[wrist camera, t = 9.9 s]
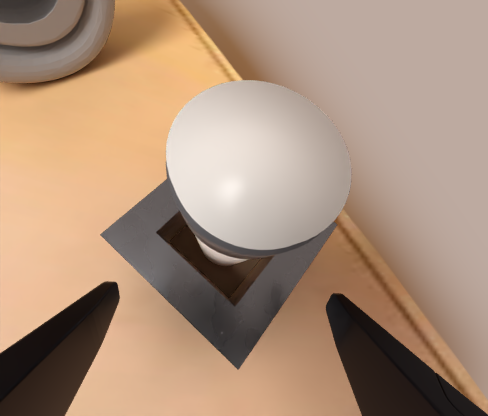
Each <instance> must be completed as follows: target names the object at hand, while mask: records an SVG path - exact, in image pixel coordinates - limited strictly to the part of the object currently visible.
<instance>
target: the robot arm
mask: <svg viewBox="0 0 488 416" xmlns="http://www.w3.org/2000/svg"><path fill="white" fill-rule="evenodd" d="M119 299H120V295H119V290H118V284H117V283H116V282H108V281H107V282H103V283H102V284H100V285H99V286H97V287H96V288H94V289H93V290H92V291H90V292H89V293H87V294H86V295H84V296H83V297H81V298H80V299H78V300H77V301H76V302H74V303H73V304H71V305H70V306H68V307H67V308H65V309H64V310H62V311H61V312H60V313H58V314H57V315H55V316H54V317H52V318H51V319H49V320H48V321H47V322H45V323H44V324H42V325H41V326H39V327H38V328H36V329H35V330H33V331H32V332H31V333H29V334H28V335H26V336H25V337H23V338H22V339H20V340H19V341H17V342H16V343H15V344H13V345H12V346H10V347H9V348H7V349H6V350H4V351H3V352H1V353H0V416H65V414H66V412H67V411H68V409H69V407H70V405H71V403H72V401H73V399H74V397H75V395H76V393H77V391H78V389H79V387H80V385H81V384H82V382H83V380H84V378H85V376H86V374H87V372H88V370H89V368H90V366H91V364H92V362H93V360H94V359H95V357H96V355H97V353H98V351H99V349H100V347H101V345H102V342H103V340H104V338H105V335H106V333H107V330H108V328H109V325H110V323H111V320H112V318H113V315H114V313H115V310H116V308H117V305H118V303H119ZM326 312H327V316H328V319H329V323H330V326H331V330H332V333H333V337H334V341H335V344H336V347H337V350H338V353H339V356H340V358H341V361H342V364H343V366H344V369H345V372H346V374H347V377H348V380H349V382H350V385H351V387H352V390H353V393H354V395H355V398H356V401H357V403H358V406H359V409H360V411H361V414H362V416H488V414H486V413H485V412H484V411H483V410H481V409H480V408H479V407H478V406H476V405H475V404H474V403H472V402H471V401H470V400H469V399H467V398H466V397H465V396H464V395H463V394H461V393H460V392H459V391H458V390H456V389H455V388H454V387H453V386H452V385H450V384H449V383H448V382H447V381H446V380H444V379H443V378H442V377H441V376H440V375H438V374H437V373H435V372H434V370H432V369H431V368H430V367H429V366H428V365H426V364H425V363H424V362H423V361H422V360H420V359H419V358H418V357H417V356H416V355H415V354H413V353H412V352H411V351H410V350H409V349H407V348H406V347H405V346H404V345H403V344H401V343H400V342H399V341H398V340H397V339H395V338H394V337H393V336H392V335H391V334H389V333H388V332H387V331H386V330H385V329H383V328H382V327H381V326H380V325H379V324H378V323H376V322H375V321H374V320H373V319H372V318H370V317H369V316H368V315H367V314H366V313H364V312H363V311H362V310H361V309H360V308H358V307H357V306H356V305H355V304H354V303H352V302H351V301H350V300H349V299H348V298H347V297H345V296H344V295H343V294H339V293H333V294H332V295H331V296H330V299H329V301H328V303H327V305H326Z"/></svg>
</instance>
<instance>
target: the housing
mask: <svg viewBox="0 0 488 416" xmlns="http://www.w3.org/2000/svg"><path fill="white" fill-rule="evenodd" d="M186 224H187V223H186V221H185V220H184V218H183V216H182V214H181V212H180V210H179V208H178V206H177V204H176V202H175V200H174V198H173V196H172V193H171V190H170V188H169V183H168V179H166V180H165V181H164V182H163V183H162V184H160V185H159V186H158V187H157V188H156V189H154V190H153V191H152V192H151V193H150V194H148V195H147V196H146V197H145V198H144V199H142V200H141V201H140V202H139V203H138V204H136V205H135V206H134V207H133V208H132V209H130V210H129V211H128V212H127V213H126V214H124V215H123V216H122V217H121V218H120V219H118V220H117V221H116V222H115V223H114V224H112V225H111V226H110V227H109V228H108V229H106V230H105V231H104V232H103V233H102V234H100V235H101V236H102V237H103V238H104V239H105V240H106V241H107V242H108V243H109V244H110V245H111V246H112V247H113V248H114V249H115V250H116V251H117V252H118V253H119V254H120V255H121V256H122V257H123V258H124V259H125V260H126V261H127V262H128V263H130V264H131V265H132V266H133V267H134V268H135V269H136V270H137V271H138V272H139V273H140V274H141V275H142V276H143V277H144V278H145V279H146V280H147V281H148V282H149V283H150V284H151V285H152V286H153V287H154V288H155V289H156V290H157V291H158V292H159V293H160V294H161V295H162V296H163V297H164V298H165V299H166V300H167V301H168V302H169V303H170V304H171V305H172V306H173V307H175V308H176V309H177V310H178V311H179V312H180V313H181V314H182V315H183V316H184V317H185V318H186V319H187V320H188V321H189V322H190V323H191V324H192V325H193V326H194V327H195V328H196V329H197V330H198V331H199V332H200V333H201V334H202V335H203V336H204V337H205V338H206V339H207V340H208V341H209V342H210V343H211V344H212V345H213V346H214V347H215V348H216V349H217V350H218V351H220V352H221V353H222V354H223V355H224V356H225V357H226V358H227V359H228V360H229V361H230V362H231V363H232V364H233V365H234V366H235V367H236V368H237V369H239V368H240V367H241V365H242V364H243V362H244V361H245V359H246V358H247V356H248V355H249V353H250V352H251V350H252V349H253V347H254V346H255V345H256V343H257V342H258V340H259V339H260V337H261V336H262V334H263V333H264V331H265V330H266V328H267V327H268V325H269V324H270V323H271V321H272V320H273V318H274V317H275V315H276V314H277V312H278V311H279V309H280V308H281V306H282V305H283V304H284V302H285V301H286V299H287V298H288V296H289V295H290V293H291V292H292V290H293V289H294V287H295V286H296V284H297V283H298V282H299V280H300V279H301V277H302V276H303V274H304V273H305V271H306V270H307V268H308V267H309V265H310V264H311V262H312V261H313V260H314V258H315V257H316V255H317V254H318V252H319V251H320V249H321V248H322V246H323V245H324V243H325V242H326V241H327V239H328V238H329V236H330V235H331V233H332V232H333V230H334V229H335V227H336V226H337V224H336V223H335V222H332V223H331V224H330V225H329V226H328V227H327V228H326V229H325V230H323V231H322V232H321V233H320V234H319V235H318V236H317V237H316V238H314V239H313V240H311V241H310V242H309V243H307V244H305V245H303V246H301V247H299V248H296V249H293V250H290V251H287V252H284V253H280V254H277V255H273V256H269V257H265V258H261V259H260V260H259V262H258V263H257V264H256V265H255V267H254V268H253V269H252V270H251V272H250V273H249V274H248V275H247V277H246V278H245V279H244V280H243V282H242V283H241V284H240V286H239V287H238V288H237V289H236V291H235V292H234V293H233V294H232V296H231V297H230V298H228V297H227V296H226V295H225V294H224V293H223V292H222V291H221V290H220V289H219V288H217V287H216V286H215V285H214V284H213V283H212V282H211V281H210V280H209V279H208V278H207V277H206V276H205V275H204V274H203V273H202V272H200V271H199V270H198V269H197V268H196V267H195V266H194V265H193V264H192V263H191V262H190V261H189V260H188V259H187V258H186V257H184V256H183V255H182V254H181V253H180V252H179V251H178V250H177V249H176V248H175V247H174V246H173V245H172V244H171V243H170V242H169V241H170V240H171V239H172V238H173V237H174V236H175V235H176V234H177V233H178V232H179V231H180V230H181V229H182V228H183V227H184V226H185V225H186Z"/></svg>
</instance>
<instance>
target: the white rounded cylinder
mask: <svg viewBox="0 0 488 416" xmlns="http://www.w3.org/2000/svg"><path fill="white" fill-rule="evenodd" d="M166 171H167V179H168V183H169V188H170V190H171V193H172V196H173V198H174V200H175V202H176V204H177V206H178V208H179V210H180V212H181V214H182V216H183V218H184V220H185V221H186V223H187V225H188V227H189V228H190V230H191V231H192V232H193V233H194V235H195V236H196V238H197V241H198V243H199V245H200V247H201V250H202V252H203V253H204V255H205V256H206V258H207V259H208V260H210V261H211V262H213V263H214V264H217V265H220V266H231V265H234V264H237V263H240V262H243V261H246V260H249V259H260V258H265V257H269V256H273V255H277V254H280V253H284V252H287V251H290V250H293V249H296V248H299V247H301V246H303V245H305V244H307V243H309V242H310V241H311V240H313V239H314V238H316V237H317V236H318V235H319V234H320V233H321V232H322V231H323V230H325V229H326V228H327V227H328V226H329V225H330V224H331V223H332V222H333V221H334V220H335V219H336V218H337V216H338V215H339V214H340V212H341V211H342V209H343V207H344V205H345V203H346V200H347V198H348V195H349V192H350V186H351V175H352V170H351V161H350V157H349V152H348V150H347V147H346V144H345V142H344V140H343V138H342V136H341V134H340V132H339V130H338V129H337V128H336V126H335V125H334V123H333V122H332V121H331V120H330V118H329V117H328V116H327V115H326V114H325V113H324V112H323V111H322V110H321V109H320V108H319V107H318V106H317V105H315V104H314V103H313V102H312V101H310V100H309V99H307V98H306V97H304V96H302V95H300V94H299V93H297V92H295V91H293V90H290V89H288V88H286V87H283V86H280V85H277V84H273V83H268V82H263V81H254V80H241V81H232V82H227V83H222V84H219V85H216V86H213V87H211V88H209V89H207V90H205V91H203V92H201V93H200V94H198V95H197V96H195V97H194V98H193V99H191V100H190V101H189V102H188V103H187V104H186V105H185V106H184V107H183V108H182V109H181V111H180V112H179V113H178V115H177V117H176V118H175V120H174V122H173V124H172V126H171V129H170V131H169V135H168V139H167V146H166Z"/></svg>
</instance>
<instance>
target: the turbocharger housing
mask: <svg viewBox="0 0 488 416" xmlns="http://www.w3.org/2000/svg"><path fill="white" fill-rule="evenodd" d="M114 10H115V0H0V82H7V83H36V82H45V81H50V80H55V79H59V78H62V77H65V76H68V75H70V74H73V73H75V72H77V71H78V70H80V69H82V68H83V67H85V66H86V65H88V64H89V63H90V62H91V61H92V60H93V59H94V58H95V57H96V56H97V55H98V54H99V52H100V51H101V49H102V48H103V46H104V45H105V43H106V41H107V39H108V36H109V34H110V31H111V27H112V23H113V18H114Z"/></svg>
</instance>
